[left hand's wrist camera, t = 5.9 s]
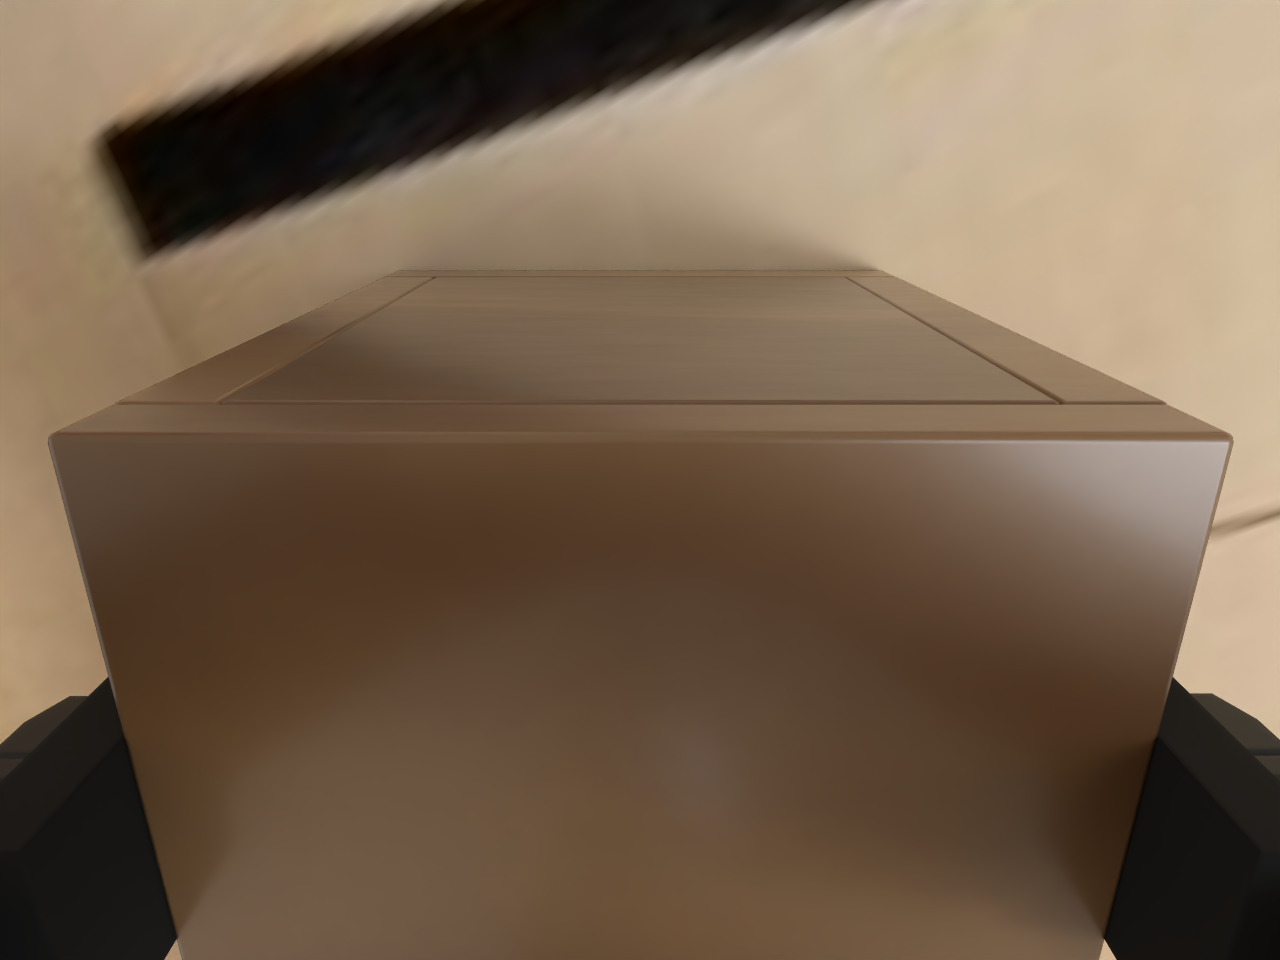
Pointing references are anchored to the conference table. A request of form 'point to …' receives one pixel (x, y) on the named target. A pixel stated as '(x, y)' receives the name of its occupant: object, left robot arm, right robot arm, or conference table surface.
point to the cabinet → (640, 622)
